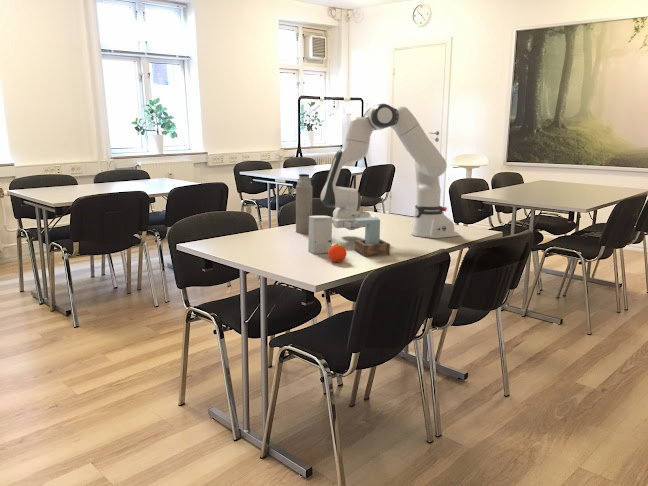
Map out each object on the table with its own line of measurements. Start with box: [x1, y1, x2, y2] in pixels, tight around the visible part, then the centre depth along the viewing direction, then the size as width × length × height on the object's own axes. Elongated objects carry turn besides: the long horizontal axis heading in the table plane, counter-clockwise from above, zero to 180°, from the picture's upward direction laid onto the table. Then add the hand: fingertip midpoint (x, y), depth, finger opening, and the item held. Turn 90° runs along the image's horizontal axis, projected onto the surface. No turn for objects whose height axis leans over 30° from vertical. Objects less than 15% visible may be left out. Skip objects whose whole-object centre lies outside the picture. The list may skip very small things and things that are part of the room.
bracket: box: [354, 218, 381, 245], centre depth 217 cm, size 10×4×13 cm, turn 107°
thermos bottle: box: [295, 173, 313, 234], centre depth 260 cm, size 8×8×28 cm
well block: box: [354, 238, 391, 258], centre depth 219 cm, size 11×11×4 cm
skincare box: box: [307, 215, 333, 255], centre depth 219 cm, size 8×6×15 cm
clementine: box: [328, 243, 349, 263], centre depth 203 cm, size 8×7×7 cm
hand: (361, 225), depth 229 cm, fingers open, 8 cm apart
